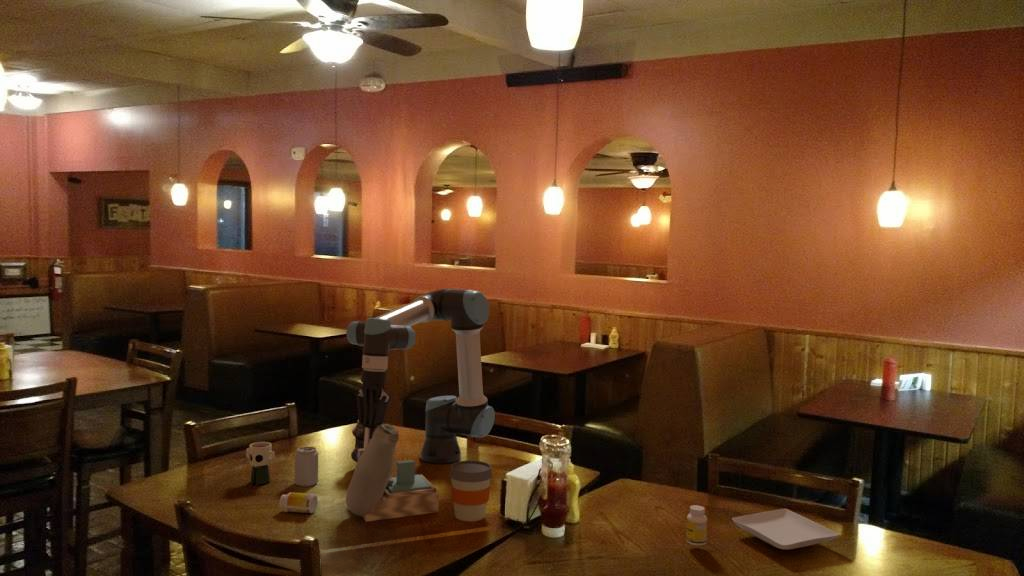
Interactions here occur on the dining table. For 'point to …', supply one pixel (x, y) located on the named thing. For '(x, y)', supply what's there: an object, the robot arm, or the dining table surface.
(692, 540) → the supplement bottle
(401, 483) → the cover
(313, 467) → the can
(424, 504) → the latch box
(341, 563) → the dining table surface
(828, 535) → the salad plate
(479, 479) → the reusable coffee cup
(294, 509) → the supplement bottle
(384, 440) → the brown rounded cylinder
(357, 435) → the apothecary jar
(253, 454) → the character mug
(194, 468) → the dining table surface
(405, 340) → the robot arm
